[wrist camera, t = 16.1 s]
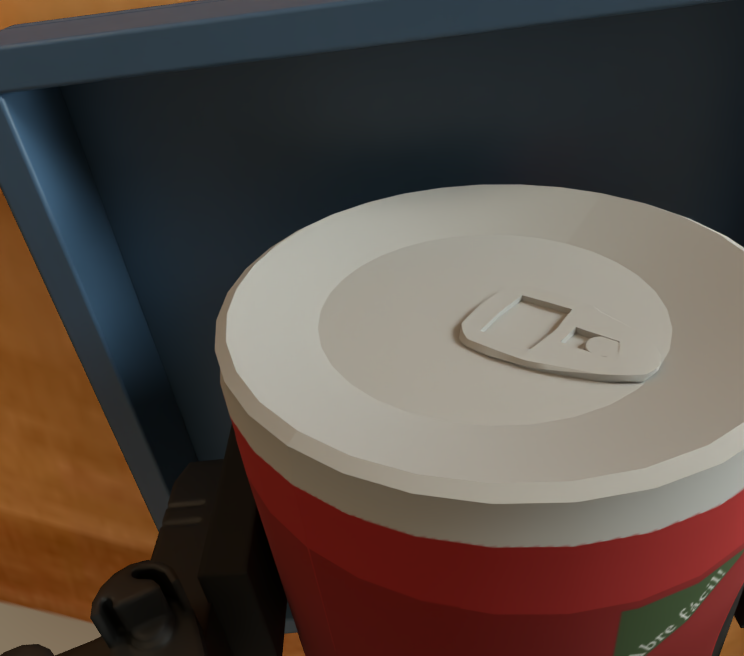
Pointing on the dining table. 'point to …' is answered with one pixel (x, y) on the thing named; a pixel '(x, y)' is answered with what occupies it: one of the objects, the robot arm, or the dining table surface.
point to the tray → (324, 154)
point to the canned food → (496, 424)
